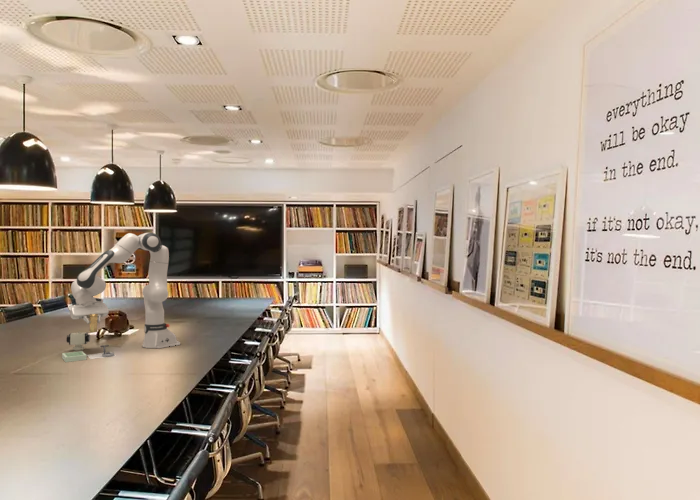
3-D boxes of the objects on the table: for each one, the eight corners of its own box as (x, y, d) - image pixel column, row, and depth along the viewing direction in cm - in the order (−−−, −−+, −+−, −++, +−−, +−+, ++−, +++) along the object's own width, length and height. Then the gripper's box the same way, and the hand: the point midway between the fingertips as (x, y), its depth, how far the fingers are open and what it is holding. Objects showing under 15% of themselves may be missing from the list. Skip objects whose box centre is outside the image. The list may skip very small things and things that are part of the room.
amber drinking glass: (96, 330, 279) (97, 313, 279) (98, 332, 276) (98, 314, 275) (88, 331, 276) (88, 314, 276) (89, 332, 273) (90, 315, 273)
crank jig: (110, 353, 284) (111, 341, 284) (116, 357, 275) (116, 345, 275) (86, 356, 276) (86, 343, 276) (90, 360, 267) (90, 347, 267)
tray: (82, 357, 275) (82, 351, 275) (86, 361, 265) (86, 355, 265) (61, 359, 269) (61, 353, 268) (65, 364, 259) (65, 357, 259)
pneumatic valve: (88, 352, 288) (88, 331, 288) (66, 352, 284) (66, 332, 284) (90, 350, 293) (90, 330, 293) (68, 350, 290) (68, 330, 289)
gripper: (68, 301, 271) (76, 321, 266) (105, 298, 288) (113, 317, 282) (64, 308, 274) (72, 328, 268) (101, 305, 291) (109, 323, 285)
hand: (93, 322), depth 275 cm, fingers closed on amber drinking glass, 4 cm apart
